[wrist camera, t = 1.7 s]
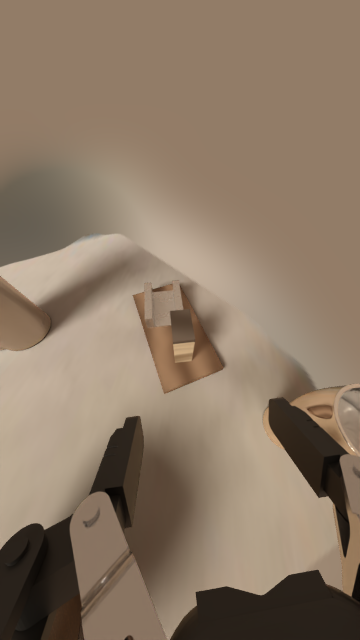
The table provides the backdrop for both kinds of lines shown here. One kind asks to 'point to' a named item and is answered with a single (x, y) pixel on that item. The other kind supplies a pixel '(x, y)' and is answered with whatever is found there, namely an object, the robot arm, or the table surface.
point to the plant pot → (67, 620)
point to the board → (163, 349)
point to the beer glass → (330, 414)
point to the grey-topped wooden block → (182, 335)
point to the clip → (161, 305)
